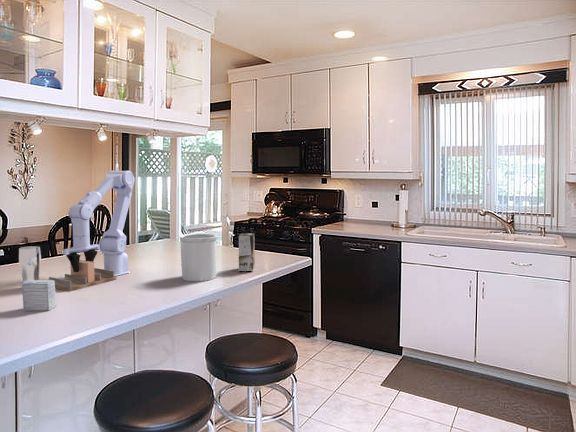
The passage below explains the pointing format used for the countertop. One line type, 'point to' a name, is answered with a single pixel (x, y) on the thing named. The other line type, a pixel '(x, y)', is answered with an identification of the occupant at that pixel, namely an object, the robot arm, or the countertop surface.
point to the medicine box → (39, 295)
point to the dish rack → (83, 280)
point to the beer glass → (30, 262)
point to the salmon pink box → (85, 270)
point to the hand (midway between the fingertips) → (82, 270)
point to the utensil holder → (198, 256)
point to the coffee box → (246, 251)
